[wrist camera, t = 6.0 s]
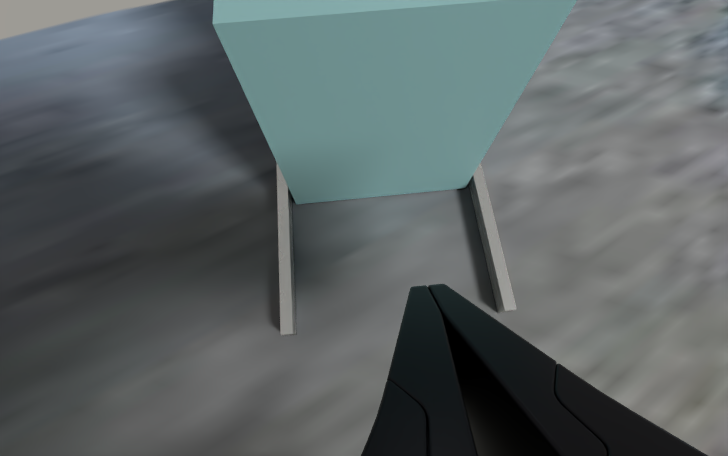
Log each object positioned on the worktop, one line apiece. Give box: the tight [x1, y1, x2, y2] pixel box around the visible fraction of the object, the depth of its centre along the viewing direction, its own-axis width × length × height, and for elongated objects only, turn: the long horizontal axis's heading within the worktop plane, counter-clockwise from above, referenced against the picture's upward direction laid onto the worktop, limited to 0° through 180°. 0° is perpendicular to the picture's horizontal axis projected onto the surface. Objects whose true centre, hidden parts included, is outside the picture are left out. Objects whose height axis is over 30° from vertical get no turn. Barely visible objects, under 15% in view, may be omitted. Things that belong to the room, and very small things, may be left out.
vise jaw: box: [213, 0, 577, 204], centre depth 16 cm, size 3×10×12 cm, turn 96°
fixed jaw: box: [277, 162, 517, 336], centre depth 16 cm, size 20×12×12 cm, turn 6°
